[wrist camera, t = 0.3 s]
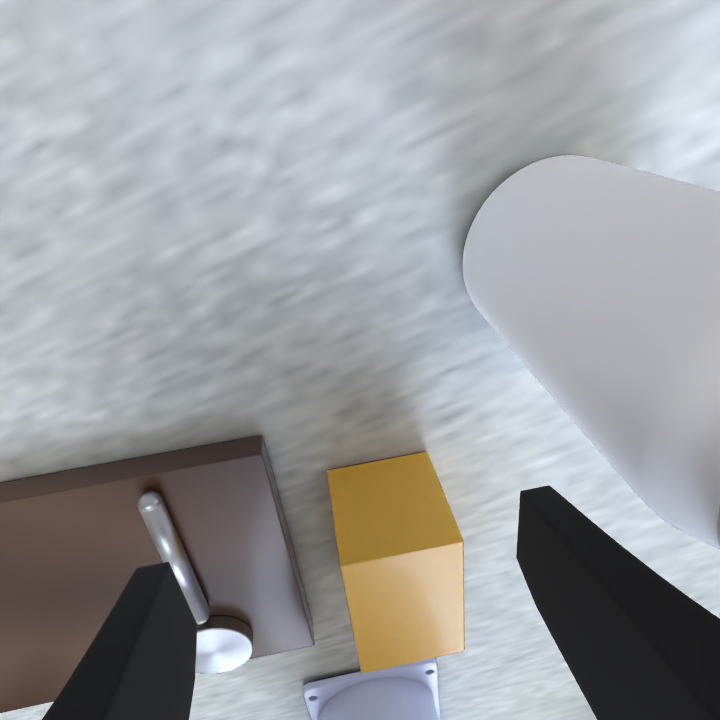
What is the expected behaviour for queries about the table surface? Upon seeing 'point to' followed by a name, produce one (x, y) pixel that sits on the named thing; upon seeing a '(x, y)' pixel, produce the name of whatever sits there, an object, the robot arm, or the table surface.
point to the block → (398, 561)
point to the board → (139, 556)
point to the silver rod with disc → (196, 596)
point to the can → (615, 317)
